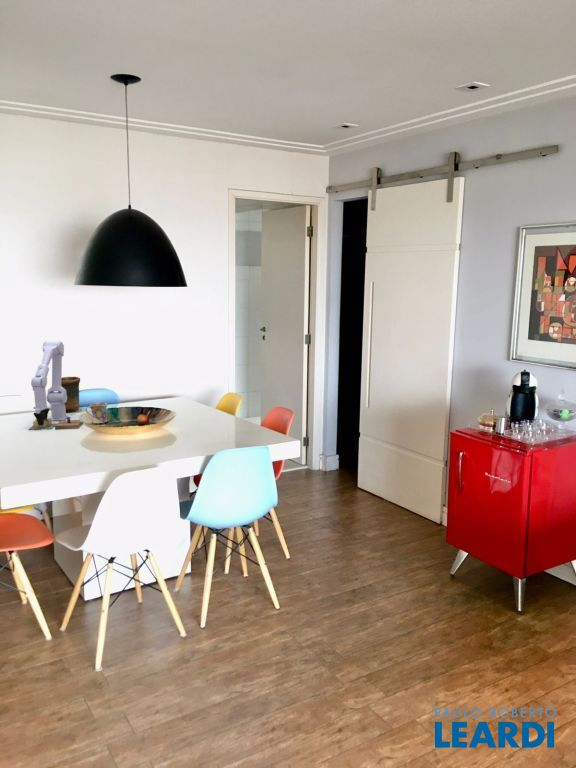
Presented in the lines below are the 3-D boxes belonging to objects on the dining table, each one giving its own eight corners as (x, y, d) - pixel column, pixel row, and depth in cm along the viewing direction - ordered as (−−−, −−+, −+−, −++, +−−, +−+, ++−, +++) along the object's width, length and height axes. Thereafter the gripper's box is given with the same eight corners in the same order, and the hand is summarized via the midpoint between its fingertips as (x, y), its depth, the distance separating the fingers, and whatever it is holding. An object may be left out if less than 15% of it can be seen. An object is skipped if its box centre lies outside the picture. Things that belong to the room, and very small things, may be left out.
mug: (111, 421, 368) (109, 402, 367) (105, 425, 359) (104, 405, 357) (89, 421, 369) (88, 402, 367) (83, 425, 360) (82, 406, 358)
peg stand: (60, 424, 363) (59, 415, 362) (83, 423, 364) (82, 414, 364) (55, 429, 352) (54, 420, 351) (78, 428, 353) (77, 419, 352)
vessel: (85, 407, 405) (82, 375, 401) (79, 413, 391) (76, 380, 387) (61, 408, 404) (58, 376, 400) (54, 414, 390) (51, 381, 386)
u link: (51, 424, 361) (51, 418, 360) (49, 427, 355) (48, 420, 355) (36, 425, 360) (35, 419, 359) (33, 427, 355) (33, 421, 354)
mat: (34, 424, 363) (34, 424, 363) (57, 424, 364) (57, 423, 364) (28, 430, 351) (28, 429, 351) (51, 429, 352) (51, 428, 352)
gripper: (36, 396, 362) (38, 421, 364) (28, 402, 348) (31, 427, 350) (49, 396, 362) (51, 420, 365) (42, 401, 348) (45, 426, 351)
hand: (42, 423), depth 357 cm, fingers open, 7 cm apart
